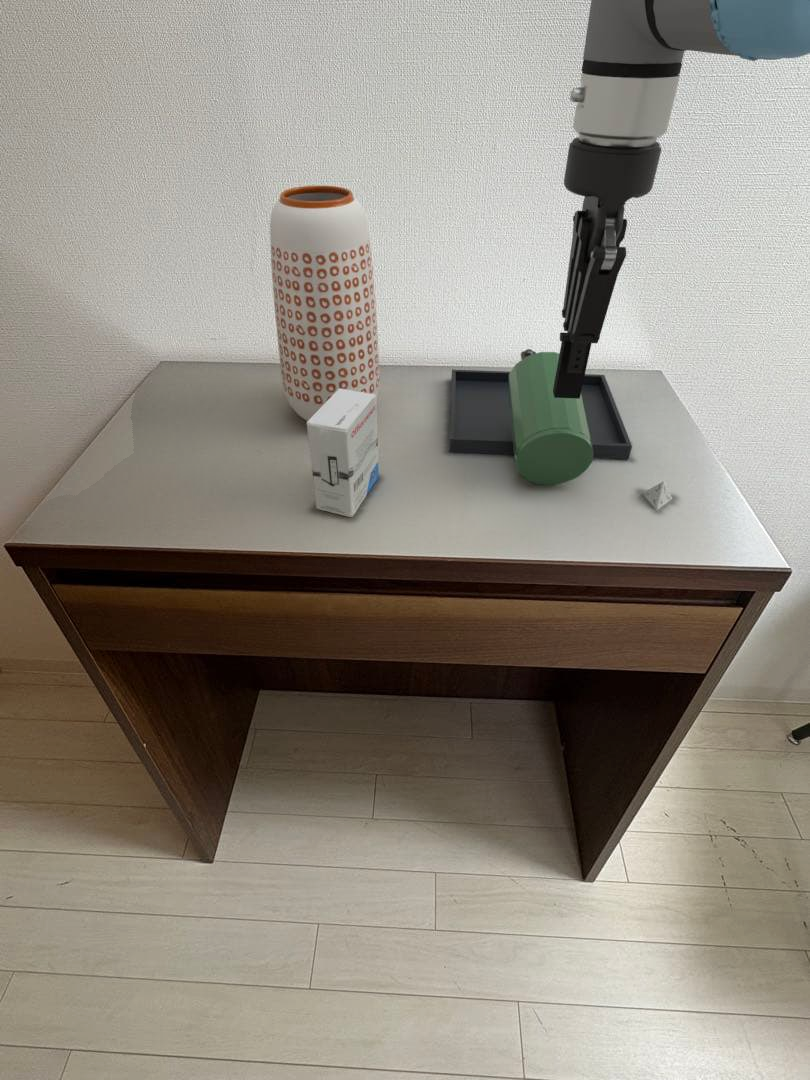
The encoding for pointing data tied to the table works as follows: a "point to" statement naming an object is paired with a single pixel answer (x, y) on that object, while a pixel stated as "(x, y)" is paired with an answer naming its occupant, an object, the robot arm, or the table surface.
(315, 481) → the ink box
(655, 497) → the tetrahedral die
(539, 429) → the cup
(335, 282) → the vase
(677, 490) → the table surface
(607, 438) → the tray
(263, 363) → the table surface
